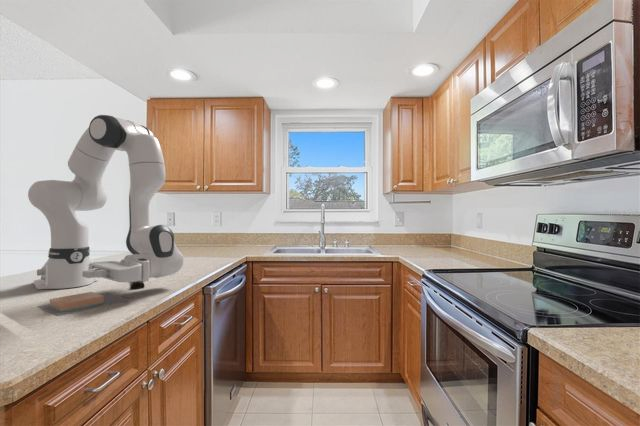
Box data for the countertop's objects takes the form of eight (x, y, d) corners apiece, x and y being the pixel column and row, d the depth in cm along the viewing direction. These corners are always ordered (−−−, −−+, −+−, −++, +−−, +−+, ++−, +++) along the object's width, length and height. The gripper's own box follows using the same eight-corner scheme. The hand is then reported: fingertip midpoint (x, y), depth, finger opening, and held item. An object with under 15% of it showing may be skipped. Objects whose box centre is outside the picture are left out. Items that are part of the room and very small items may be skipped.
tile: (90, 298, 96) (49, 306, 88) (90, 291, 96) (49, 299, 88) (103, 303, 92) (61, 311, 84) (103, 295, 92) (61, 304, 84)
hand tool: (144, 293, 110) (144, 279, 110) (130, 294, 109) (131, 280, 109) (145, 282, 127) (145, 270, 127) (133, 283, 125) (134, 271, 125)
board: (37, 311, 88) (37, 306, 88) (108, 297, 103) (108, 292, 103) (57, 321, 80) (57, 316, 80) (130, 304, 96) (130, 300, 96)
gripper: (118, 255, 108) (69, 260, 96) (151, 261, 97) (101, 267, 85) (117, 273, 108) (69, 280, 96) (151, 281, 97) (100, 291, 85)
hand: (84, 274), depth 91 cm, fingers closed
